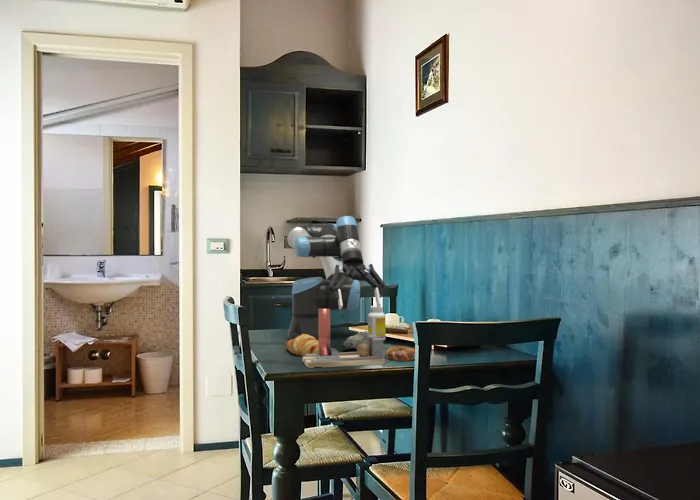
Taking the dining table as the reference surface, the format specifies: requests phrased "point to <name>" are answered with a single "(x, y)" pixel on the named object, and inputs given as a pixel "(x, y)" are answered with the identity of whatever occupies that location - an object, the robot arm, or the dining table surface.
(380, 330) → the supplement bottle
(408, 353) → the pretzel
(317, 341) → the croissant
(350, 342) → the rock
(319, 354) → the handle
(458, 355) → the dining table surface
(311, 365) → the base
